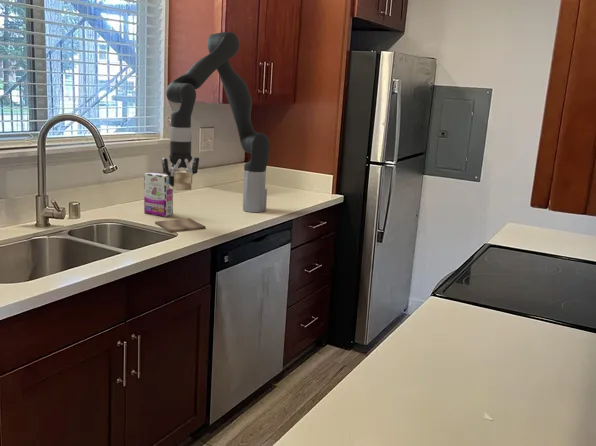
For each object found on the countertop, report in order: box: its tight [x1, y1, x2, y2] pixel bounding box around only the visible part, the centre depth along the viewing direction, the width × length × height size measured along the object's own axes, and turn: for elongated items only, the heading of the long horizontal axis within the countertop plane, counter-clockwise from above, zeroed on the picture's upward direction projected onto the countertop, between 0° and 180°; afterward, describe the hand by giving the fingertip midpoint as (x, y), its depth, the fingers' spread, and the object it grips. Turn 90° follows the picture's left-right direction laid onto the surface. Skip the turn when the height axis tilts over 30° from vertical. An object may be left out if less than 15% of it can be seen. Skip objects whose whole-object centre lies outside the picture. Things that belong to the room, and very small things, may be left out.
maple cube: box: [170, 170, 193, 192], centre depth 215 cm, size 6×6×6 cm
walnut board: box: [154, 217, 206, 233], centre depth 219 cm, size 14×14×1 cm
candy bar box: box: [143, 171, 174, 218], centre depth 234 cm, size 11×5×16 cm, turn 62°
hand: (180, 185), depth 216 cm, fingers closed on maple cube, 6 cm apart
